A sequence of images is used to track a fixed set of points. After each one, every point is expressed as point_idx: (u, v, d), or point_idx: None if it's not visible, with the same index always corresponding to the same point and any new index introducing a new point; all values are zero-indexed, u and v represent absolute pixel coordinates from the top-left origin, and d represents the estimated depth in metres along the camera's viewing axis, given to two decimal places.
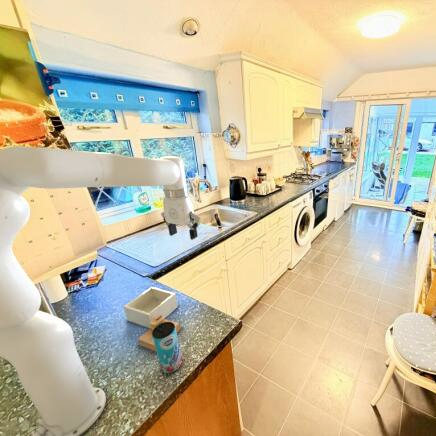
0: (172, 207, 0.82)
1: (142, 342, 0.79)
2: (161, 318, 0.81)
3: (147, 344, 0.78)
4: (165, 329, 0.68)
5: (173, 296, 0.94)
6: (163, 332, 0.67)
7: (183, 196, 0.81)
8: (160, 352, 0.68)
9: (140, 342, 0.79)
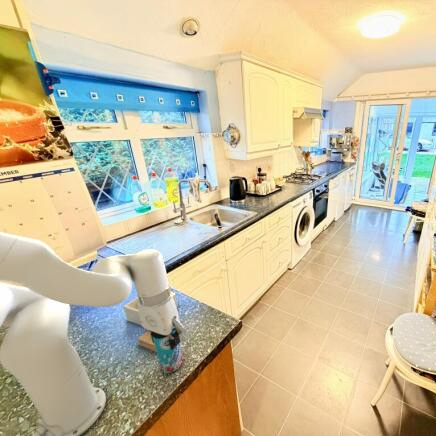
0: (149, 314, 0.63)
1: (142, 342, 0.79)
2: None
3: (147, 344, 0.78)
4: None
5: (173, 296, 0.94)
6: None
7: (163, 301, 0.62)
8: (160, 352, 0.68)
9: (140, 342, 0.79)
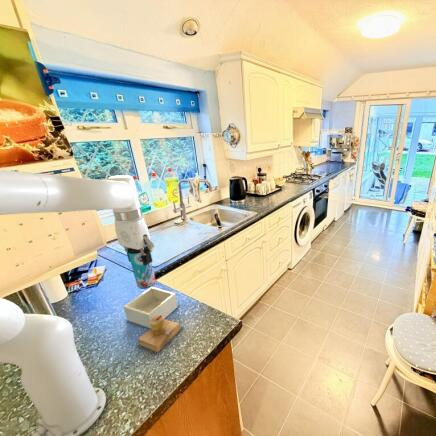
0: (123, 230, 0.75)
1: (142, 342, 0.79)
2: (161, 318, 0.81)
3: (147, 344, 0.78)
4: None
5: (173, 296, 0.94)
6: (137, 250, 0.80)
7: (135, 218, 0.75)
8: (134, 267, 0.80)
9: (140, 342, 0.79)
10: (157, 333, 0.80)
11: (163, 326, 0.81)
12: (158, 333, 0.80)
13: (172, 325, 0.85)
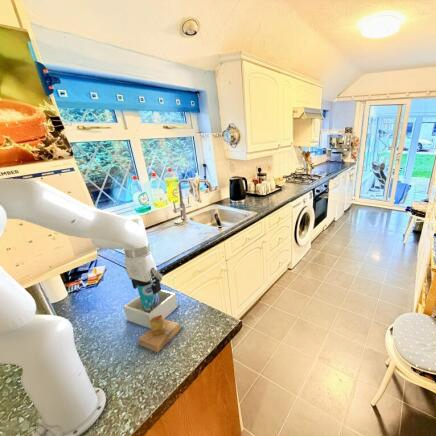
0: (133, 265, 0.83)
1: (142, 342, 0.79)
2: (161, 318, 0.81)
3: (147, 344, 0.78)
4: None
5: (173, 296, 0.94)
6: (145, 282, 0.87)
7: (143, 254, 0.82)
8: (142, 298, 0.88)
9: (140, 342, 0.79)
10: (157, 333, 0.80)
11: (163, 326, 0.81)
12: (158, 333, 0.80)
13: (172, 325, 0.85)
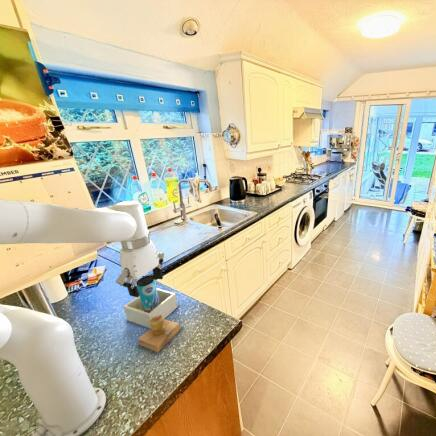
0: None
1: (142, 342, 0.79)
2: (161, 318, 0.81)
3: (147, 344, 0.78)
4: (146, 280, 0.88)
5: (173, 296, 0.94)
6: (145, 282, 0.87)
7: (124, 248, 0.69)
8: (142, 298, 0.88)
9: (140, 342, 0.79)
10: (157, 333, 0.80)
11: (163, 326, 0.81)
12: (158, 333, 0.80)
13: (172, 325, 0.85)
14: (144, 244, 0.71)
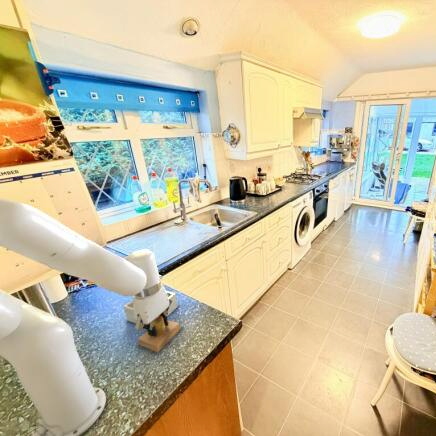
0: None
1: (142, 342, 0.79)
2: (161, 318, 0.81)
3: (147, 344, 0.78)
4: None
5: (173, 296, 0.94)
6: None
7: (136, 295, 0.73)
8: None
9: (140, 342, 0.79)
10: (157, 333, 0.80)
11: (163, 326, 0.81)
12: (158, 333, 0.80)
13: (172, 325, 0.85)
14: (155, 291, 0.74)
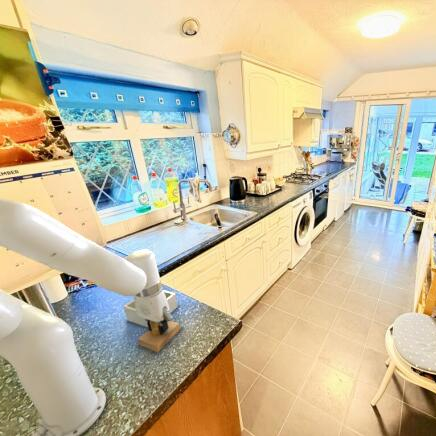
0: (143, 304, 0.75)
1: (142, 342, 0.79)
2: None
3: (147, 344, 0.78)
4: None
5: (173, 296, 0.94)
6: None
7: (155, 293, 0.74)
8: None
9: (140, 342, 0.79)
10: None
11: None
12: None
13: (172, 325, 0.85)
14: None
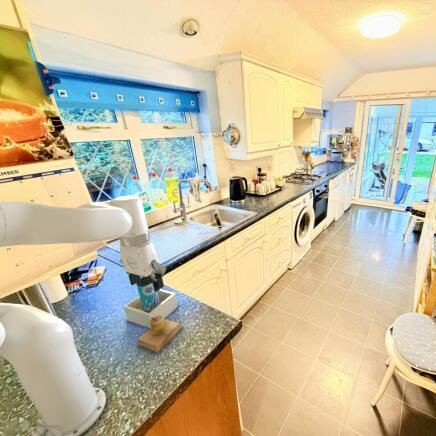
0: (130, 256, 0.68)
1: (142, 342, 0.79)
2: (156, 316, 0.82)
3: (147, 344, 0.78)
4: (146, 280, 0.88)
5: (173, 296, 0.94)
6: (145, 282, 0.87)
7: (143, 243, 0.68)
8: (142, 298, 0.88)
9: (140, 342, 0.79)
10: (164, 327, 0.83)
11: None
12: None
13: (172, 325, 0.85)
14: None
